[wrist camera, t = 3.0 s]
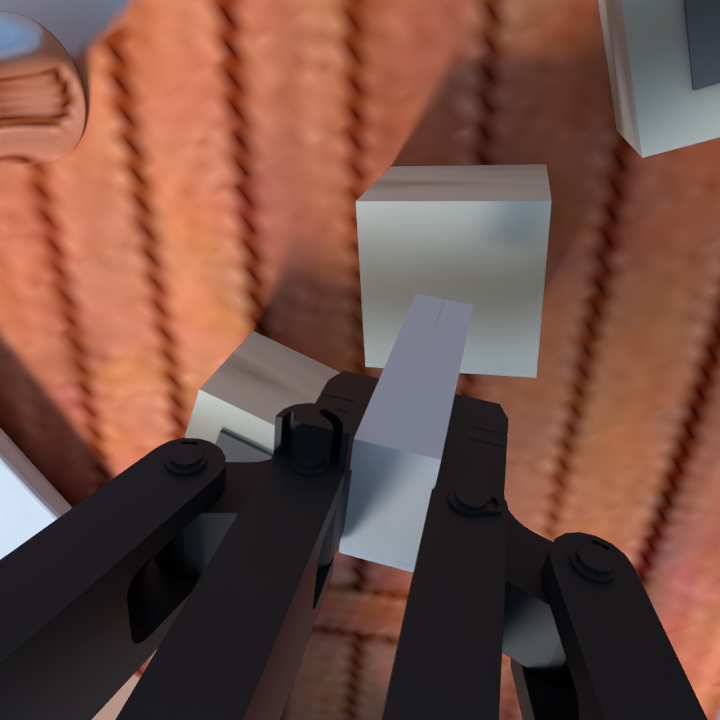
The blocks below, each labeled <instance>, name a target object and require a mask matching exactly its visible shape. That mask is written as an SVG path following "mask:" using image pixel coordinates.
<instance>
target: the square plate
mask: <svg viewBox="0 0 720 720" xmlns="http://www.w3.org/2000/svg"><path fill="white" fill-rule="evenodd" d="M70 509H72V507H71V506H70V504H69V503H68V502H67V501H66V500H65V499H64V498H63V497H62V496H61V494H60V493H59V492H58V491H57V490H56V489H55V488H54V487H53V486H52V485H51V484H50V482H49V481H48V480H47V479H46V478H45V477H44V476H43V475H42V474H41V473H40V472H39V470H38V469H37V468H36V467H35V466H34V465H33V464H32V463H31V462H30V460H29V459H28V458H27V457H26V456H25V455H24V454H23V453H22V452H21V450H20V449H19V448H18V447H17V446H16V445H15V444H14V442H13V441H12V440H11V439H10V438H9V437H8V436H7V435H6V433H5V432H4V431H3V430H2V429H1V428H0V560H1V559H2V558H3V557H5V556H6V555H8V554H9V553H10V552H12V551H13V550H15V549H16V548H17V547H19V546H20V545H21V544H23V543H24V542H26V541H27V540H28V539H30V538H31V537H33V536H34V535H35V534H37V533H38V532H40V531H41V530H42V529H44V528H45V527H47V526H48V525H49V524H51V523H52V522H54V521H55V520H56V519H58V518H59V517H61V516H62V515H63V514H65V513H66V512H68V511H69V510H70Z"/></svg>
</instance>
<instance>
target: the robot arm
mask: <svg viewBox="0 0 720 720" xmlns="http://www.w3.org/2000/svg"><path fill="white" fill-rule="evenodd" d="M472 308H473V305H470V304H465V303H460V302H455V301H450V300H445V299H440V298H435V297H430V296H425V295H420V294H415V297H414V299H413V301H412V304H411V306H410V308H409V311H408V313H407V315H406V318H405V320H404V322H403V325H402V327H401V329H400V332H399V334H398V337H397V339H396V341H395V344H394V346H393V348H392V351H391V353H390V355H389V358H388V360H387V362H386V365H385V367H384V369H383V372H382V374H381V376H380V379H378V378H373V377H369V376H365V375H360V374H356V373H351V372H347V371H342V372H341V373H339V374H337V375H336V376H334V377H332V378H331V379H329V380H328V381H327V383H326V385H325V387H324V388H323V390H322V392H321V395H319V397H318V399H317V401H316V402H315V403H303V404H295V405H292V406H290V407H287V408H285V409H283V410H282V411H281V412H280V413H278V414H277V415H276V416H275V435H274V454H273V456H272V457H271V459H268V460H264V461H260V462H226V457H225V455H224V453H223V451H222V450H221V448H219V447H218V446H217V445H215V444H214V443H212V442H210V441H206V440H203V439H199V438H182V439H177V440H172V441H169V442H167V443H165V444H163V445H161V446H159V447H157V448H155V449H154V450H153V451H151V452H150V453H149V454H147V455H146V456H144V457H143V458H142V459H140V460H139V461H137V462H136V463H135V464H133V465H132V466H130V467H129V468H128V469H126V470H125V471H123V472H122V473H121V474H119V475H118V476H116V477H115V478H114V479H112V480H111V481H109V482H108V483H107V484H105V485H104V486H102V487H101V488H100V489H98V490H97V491H95V492H94V493H93V494H91V495H90V496H88V497H87V498H86V499H84V500H83V501H82V502H80V503H79V504H77V505H76V506H75V507H73V508H72V509H70V510H69V511H68V512H66V513H65V514H63V515H62V516H61V517H59V518H58V519H56V520H55V521H54V522H52V523H51V524H49V525H48V526H47V527H45V528H44V529H42V530H41V531H40V532H38V533H37V534H35V535H34V536H33V537H31V538H30V539H28V540H27V541H26V542H24V543H23V544H21V545H20V546H19V547H17V548H16V549H15V550H13V551H12V552H10V553H9V554H8V555H6V556H5V557H3V558H2V559H1V560H0V720H91V719H92V718H93V717H94V716H95V715H96V714H97V713H98V712H99V711H100V710H101V709H102V708H103V707H104V705H105V704H106V703H107V702H108V701H109V700H110V699H111V698H112V697H113V696H114V695H115V694H116V692H117V691H118V690H119V689H120V688H121V687H122V686H123V685H124V684H125V683H126V682H127V681H128V680H129V678H130V677H131V676H132V675H133V674H134V673H135V672H136V671H137V670H138V669H139V668H140V667H141V666H142V664H143V663H144V662H145V661H146V660H147V659H148V658H149V657H150V656H151V655H152V654H153V653H154V652H155V650H156V649H157V648H158V647H159V648H158V649H157V651H156V653H155V654H154V656H153V658H152V659H151V661H150V663H149V664H148V666H147V668H146V669H145V671H144V673H143V674H142V676H141V678H140V680H139V681H138V683H137V685H136V686H135V688H134V690H133V691H132V693H131V695H130V696H129V698H128V700H127V701H126V703H125V705H124V706H123V708H122V710H121V711H120V713H119V715H118V717H117V718H116V720H280V718H281V715H282V712H283V710H284V707H285V704H286V701H287V698H288V696H289V693H290V690H291V687H292V684H293V682H294V679H295V676H296V673H297V670H298V668H299V665H300V662H301V659H302V657H303V654H304V651H305V648H306V645H307V643H308V640H309V637H310V634H311V631H312V629H313V626H314V623H315V620H316V617H317V615H318V612H319V609H320V606H321V603H322V601H323V598H324V595H325V592H326V589H327V587H328V584H329V581H330V578H331V575H332V568H333V561H334V555H335V552H336V550H337V547H338V544H339V541H340V546H339V553H342V554H346V555H350V556H353V557H357V558H361V559H364V560H368V561H372V562H375V563H379V564H383V565H387V566H390V567H394V568H398V569H401V570H405V571H409V572H412V573H413V577H412V581H411V586H410V590H409V595H408V599H407V604H406V608H405V613H404V617H403V621H402V627H401V631H400V636H399V641H398V645H397V650H396V654H395V659H394V663H393V668H392V673H391V677H390V682H389V686H388V691H387V696H386V700H385V705H384V709H383V714H382V718H381V720H499V702H500V682H501V661H502V653H504V654H505V655H507V656H509V657H510V658H511V669H512V673H513V678H514V682H515V687H516V691H517V696H518V700H519V705H520V709H521V714H522V718H523V720H707V718H706V716H705V714H704V711H703V709H702V707H701V705H700V703H699V701H698V699H697V697H696V695H695V693H694V691H693V689H692V687H691V684H690V682H689V680H688V678H687V676H686V674H685V672H684V670H683V668H682V666H681V664H680V662H679V660H678V657H677V655H676V653H675V651H674V649H673V647H672V645H671V643H670V641H669V639H668V637H667V635H666V632H665V630H664V628H663V626H662V624H661V622H660V620H659V618H658V616H657V614H656V612H655V610H654V608H653V605H652V603H651V601H650V599H649V597H648V595H647V593H646V591H645V589H644V587H643V585H642V583H641V581H640V578H639V576H638V574H637V572H636V570H635V568H634V567H633V565H632V564H631V562H630V561H629V559H628V558H627V557H626V555H625V554H624V553H622V552H621V551H620V550H619V549H618V548H616V547H615V546H614V545H613V544H611V543H609V542H607V541H605V540H603V539H601V538H599V537H597V536H594V535H589V534H585V533H580V532H577V533H565V534H563V535H561V536H559V537H558V538H556V539H555V540H554V542H552V541H550V540H548V539H546V538H544V537H542V536H540V535H538V534H536V533H534V532H532V531H531V530H529V529H528V528H526V527H524V526H523V525H522V524H521V523H520V522H519V521H517V520H516V519H515V518H514V516H513V515H512V514H511V513H510V511H509V510H508V506H507V502H506V500H505V498H504V485H505V467H506V447H507V432H508V418H507V416H506V415H505V413H504V411H503V409H502V408H501V406H500V404H497V403H492V402H488V401H483V400H479V399H474V398H470V397H466V396H461V395H457V394H455V390H456V386H457V381H458V376H459V371H460V366H461V361H462V356H463V352H464V347H465V342H466V337H467V332H468V327H469V322H470V318H471V313H472Z"/></svg>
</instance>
